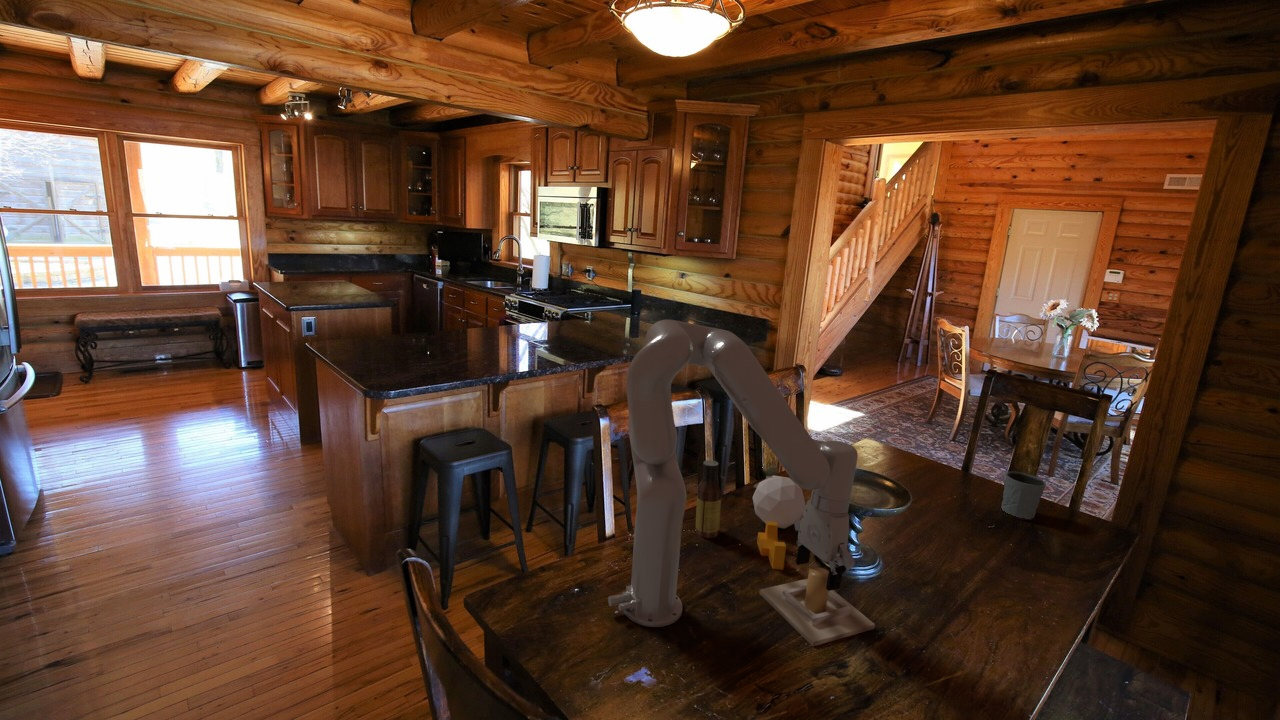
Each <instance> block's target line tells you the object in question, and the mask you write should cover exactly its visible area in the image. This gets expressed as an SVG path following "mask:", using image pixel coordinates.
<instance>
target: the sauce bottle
mask: <svg viewBox="0 0 1280 720" xmlns="http://www.w3.org/2000/svg"><path fill="white" fill-rule="evenodd" d="M719 468H720V464H719V462H718V461H716V460H711V459H710V460H709V459H708V460H707V459H706V460H704V461H703V463H702V469H703V470H702V471H703V473H702V479H701V480H700V482H699V484H698V486H697V496H696V510H695V511H696V514H695V533H696V534H697V535H698V536H700V537H702V538H705V539H714V538H716V537H718V535H719V530H720V526H721V525H720V523H721V508H722V507H721V505H722V492H721V489H720V484H719V480H718V478H719V477H718V472H719Z"/></svg>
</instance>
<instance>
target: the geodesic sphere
mask: <svg viewBox="0 0 1280 720" xmlns="http://www.w3.org/2000/svg"><path fill="white" fill-rule="evenodd" d="M765 477H766V478H765V479H764V480H762V481H759V482H757V483H755V484H754V485H753V486H752V487H753V488H755V491H754V493H753V496H752V501H753V502H752V503H753V506H754V512H755V513H754V514H755V515H756V516H757V517H758V518H759V519H760V520H761V521H762V522H763V523H764V524H765V525H766V521H771V522H777V525H778V528H780V529H786V528H788V527H790V526H792V525H795V524H794V521H797V520H801V518H802V515H803V511H804V508H805V506H806V502H805V496H804V492H803V488H801V487H799V486H798V485H797V484H795V482H794V481H793V480H792V478H791V477H786V476H785V477H784V476H779V475H771V476H769V475H766V476H765Z"/></svg>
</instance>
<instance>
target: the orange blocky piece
mask: <svg viewBox="0 0 1280 720" xmlns="http://www.w3.org/2000/svg"><path fill="white" fill-rule="evenodd" d="M778 530H779V529H778V525H777V522H771V521H766V524H765V529H764V531H765V532H760V531H759V532H758V533H757V539H756V543H757V547H758V550H759V553H760V556H763V557H768V560H769V564H770V566H771V568H772V569H771V570H784V568H785V567H784V566H785V557H786V551H787V546H786V543H785V541H779V540H778Z"/></svg>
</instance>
